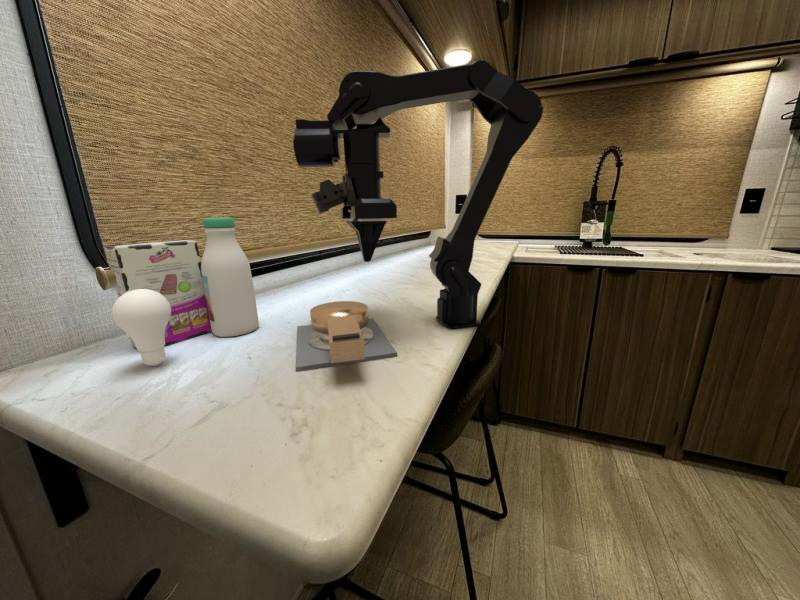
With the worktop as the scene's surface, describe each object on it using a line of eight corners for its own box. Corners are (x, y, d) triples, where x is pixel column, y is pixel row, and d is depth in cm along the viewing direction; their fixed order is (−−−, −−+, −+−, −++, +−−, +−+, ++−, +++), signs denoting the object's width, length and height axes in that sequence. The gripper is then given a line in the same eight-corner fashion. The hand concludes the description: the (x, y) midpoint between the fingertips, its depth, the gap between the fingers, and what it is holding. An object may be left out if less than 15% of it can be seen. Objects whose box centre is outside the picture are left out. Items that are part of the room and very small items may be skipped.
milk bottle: (267, 323, 61) (252, 217, 56) (244, 338, 53) (225, 217, 48) (229, 323, 62) (211, 218, 56) (202, 337, 54) (178, 218, 49)
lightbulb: (117, 372, 42) (95, 293, 40) (163, 353, 48) (147, 283, 45) (147, 379, 40) (126, 296, 38) (192, 359, 46) (176, 285, 43)
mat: (372, 320, 61) (372, 314, 61) (397, 356, 45) (397, 348, 45) (297, 329, 57) (297, 323, 57) (296, 371, 41) (295, 363, 41)
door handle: (312, 318, 54) (310, 302, 53) (364, 313, 56) (363, 297, 55) (309, 366, 36) (306, 342, 36) (385, 356, 38) (384, 334, 38)
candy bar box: (201, 326, 60) (184, 239, 56) (215, 331, 57) (199, 240, 53) (129, 347, 51) (102, 245, 47) (142, 353, 48) (115, 246, 44)
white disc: (366, 324, 57) (366, 313, 57) (379, 345, 48) (379, 333, 47) (307, 331, 55) (306, 320, 54) (309, 355, 45) (307, 342, 44)
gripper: (310, 173, 58) (317, 257, 62) (314, 154, 40) (324, 273, 45) (369, 174, 61) (373, 254, 65) (396, 156, 44) (398, 268, 48)
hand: (367, 261), depth 55 cm, fingers closed
